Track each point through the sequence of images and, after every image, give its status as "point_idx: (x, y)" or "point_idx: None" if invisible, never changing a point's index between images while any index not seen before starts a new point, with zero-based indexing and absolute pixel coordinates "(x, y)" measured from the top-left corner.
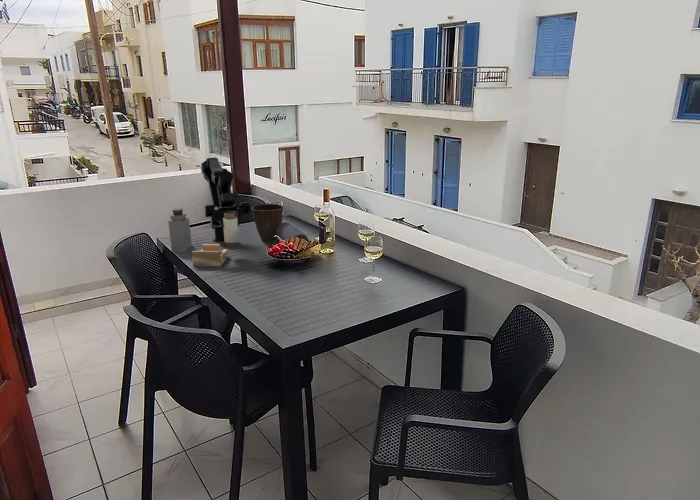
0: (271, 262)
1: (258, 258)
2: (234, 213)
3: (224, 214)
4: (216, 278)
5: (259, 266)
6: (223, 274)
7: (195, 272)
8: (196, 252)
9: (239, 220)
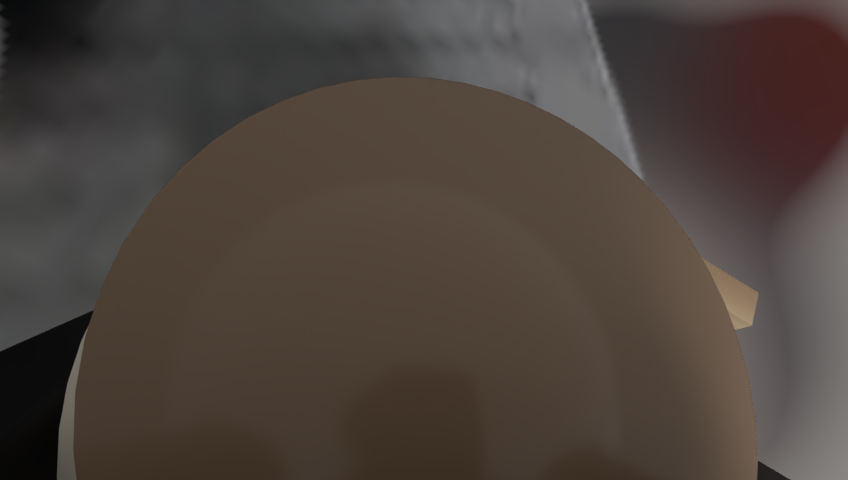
0: (13, 65)
1: (68, 237)
2: (239, 123)
3: (701, 325)
4: (524, 11)
5: (172, 39)
6: (474, 45)
7: (640, 178)
8: (715, 270)
9: (44, 341)
